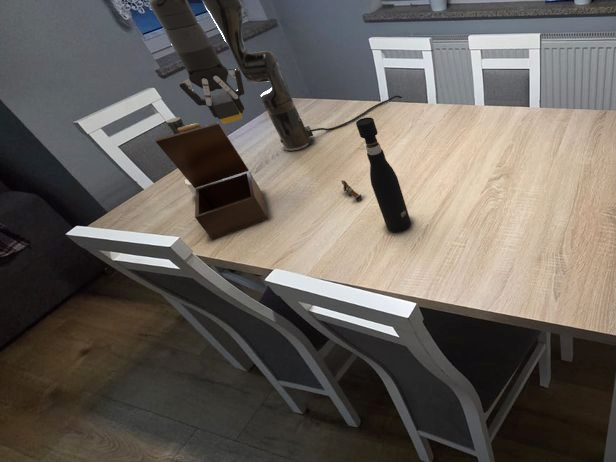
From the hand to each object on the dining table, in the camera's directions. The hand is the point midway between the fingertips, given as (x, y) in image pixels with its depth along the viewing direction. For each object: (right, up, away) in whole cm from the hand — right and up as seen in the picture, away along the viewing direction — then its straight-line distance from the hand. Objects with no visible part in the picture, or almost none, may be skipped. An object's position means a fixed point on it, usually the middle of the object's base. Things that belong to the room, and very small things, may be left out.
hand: (231, 114), depth 105 cm
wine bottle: (+44, -29, +3) cm, 53 cm away
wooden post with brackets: (+26, -20, +15) cm, 37 cm away
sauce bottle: (-32, -11, +35) cm, 48 cm away
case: (-7, -26, +13) cm, 30 cm away
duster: (0, 0, 0) cm, 0 cm away
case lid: (-11, -10, +6) cm, 16 cm away
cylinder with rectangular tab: (-23, -18, +25) cm, 38 cm away
